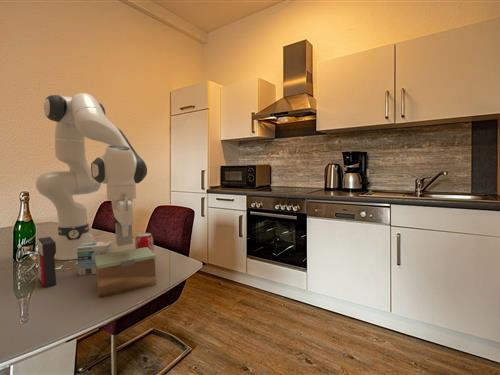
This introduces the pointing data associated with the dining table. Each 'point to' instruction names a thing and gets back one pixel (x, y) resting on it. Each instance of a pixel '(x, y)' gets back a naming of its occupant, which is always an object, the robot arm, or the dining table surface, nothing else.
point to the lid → (123, 257)
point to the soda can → (144, 241)
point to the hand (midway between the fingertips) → (123, 234)
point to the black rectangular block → (46, 261)
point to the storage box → (125, 277)
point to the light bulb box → (91, 256)
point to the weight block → (119, 238)
